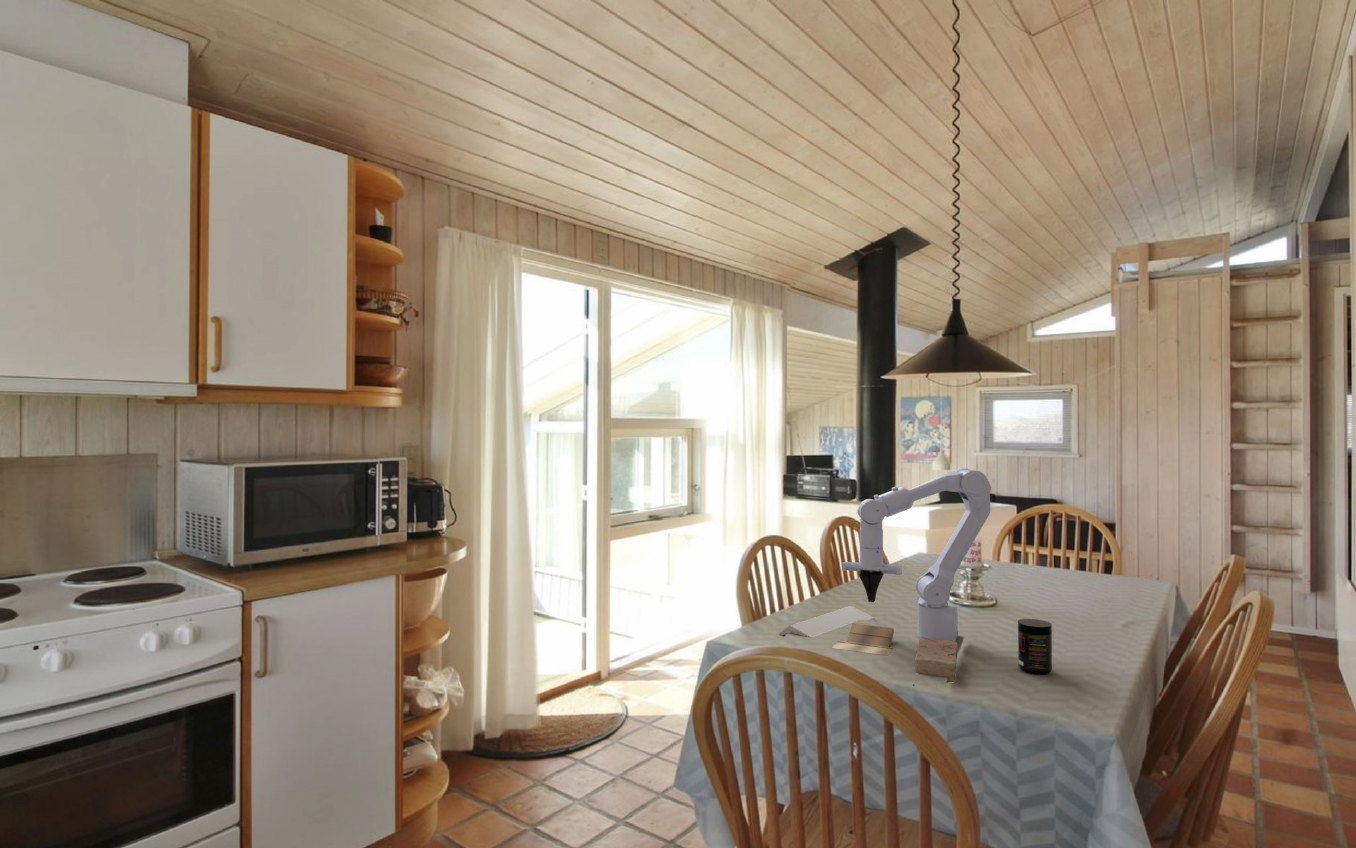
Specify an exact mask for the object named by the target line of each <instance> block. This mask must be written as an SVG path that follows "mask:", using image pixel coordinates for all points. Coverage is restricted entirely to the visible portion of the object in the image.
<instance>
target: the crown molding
mask: <svg viewBox="0 0 1356 848" xmlns="http://www.w3.org/2000/svg"><path fill="white" fill-rule="evenodd" d="M858 621H859V622H860V621H866V622H867V621H869V622H878V621H877V619H876V618H875V616H872V615H870V614H868V613H867V612H864V611H863V610H860V609H858V608H856V607H854V606H852V605H848V606H845V607H842V608H839V609H836V610H832V611H830V612H827V613H824V614H821V615H818V616H815V617H812V618H808V619H805V620H803V621H799V622H796V623H793V624H791V625H788V626H787V627H786V628H785V629H783V630H782V631H780V632H779V633H778V634H779V636H782V635H783V636H787V635H788V634H795V635H800V636H803V637H805V638H811V639H812V638H815V637H817V636H821V635H823V634H826V633H828V632H831V631H834V630H837V629H841V628H842V627H845V626H847V625H850V624H851V625H852V624H854V623H856V622H858Z"/></svg>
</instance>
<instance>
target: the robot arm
mask: <svg viewBox="0 0 1356 848" xmlns="http://www.w3.org/2000/svg"><path fill="white" fill-rule="evenodd" d="M991 490H992V486H991V484H990V481H989V479H988V478H987V476H986V475H985V473H983V472H982V471H980V470H975V469H974V470H972V469H969V468H961V469H958V470H957V471H950V472H947V473H944V474H941V475H939V476H937V477H935V478H932V479H930V480H928V481H926V482H923V483H921V484H919V485H916V486H914V487H912V488H909V489H908V488H905V487H903V486H901V487H898V486H894V487H891V490H890V491H887V492H885V493H882V494H880V495H878V494H874V495H873V497H874V499H873V498H872V499H871V498H867V499H864V500H862V501H861V503H860V504H859V506H858V508H857V514H858V516H859V518H860V519H859V561H854V562H853V561H843V562H841V571H842V572H843V571H844V572H845V571H851V572H859V574H858V575H859V578H860V581H861V582H862V584H863V588H864V590H865V592H866V597H867V602H868V603H874V602H875V601H876V597H877V592H878V589H879V587H880V586H879V585H880V583H881V582H882V579H883V577H884V574H887V575H896V576H901V575H902V573H903V570H902V569H903V567H902V566H900V565H894V564H893V565H892V564H887V563H884V530H883V520H884V519H885V517H886V518H889V517H892V516H893V515H896V514H897V515H898V514H899V513H901V512H905V511H908V510H909V509H911V508H912V506H913V504H914V502H917V501H919V500H921V499H922V500H923V499H925V498H927V497H930V496H933V495H935V494H936V495H937V494H939V493H943V492H945V491H946V492H954V493H958V494H959V496H960V497H961V500H962V502H963V504H964V507H965V511H964V513H963V514H962V516H961V518H960V520H959V522H958V523H957V525H956V526H955V528H954V530H953V532H952V534H951V535H950V537H949V539H948V541H947V542H946V544H945V545H944V548H942V551H941V553H939V556H938V558H937V559H936V561H935V563H934V564H932V565H931V566H930V567H929V568H928V569H927V570H926V572H925V573H924V574H922V575H921V576H920V577H919V578H918V579H917V580H916V583H915V588H916V589H915V590H916V592H917V593H918V595H919V596H920V597H919V599H917V636H919V637H920V638H921V639H926V640H927V639H931V640H935V639H936V640H948V641H954V642H957V638H958V637H959V629H958V628H959V627H958V623H959V622H958V620H959V619H958V607H956V606H951V605H949V601H950V597H951V589H952V587H953V586H954V580H955V574H956V572H957V571H958V569H959V567H960V566H961V564H962V563H963V560H964V558H965V557H966V555H967V553H968V552H969V550H970V548H971V547H972V545H973V543H974V542H975V540H976V538H977V536H978V535H979V533H980V531H981V529H982V528H983V526H984V525H985V523H986V521H987V519H988V518H989V516H990V513H991Z"/></svg>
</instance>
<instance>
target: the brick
mask: <svg viewBox="0 0 1356 848" xmlns="http://www.w3.org/2000/svg"><path fill="white" fill-rule="evenodd" d="M958 646H959V645H958V642H957V641H948V640H936V639H935V640H932V639H926V638H920V639H918V648H917V651H916V654H915V658H914V663H915V664H914V665H915V666H914V667H915V670H914V672H915V673H916V674H924V675H925V674H926V675H931V676H933V675H934V676H940V677H941V676H942V677H948V678H947V680H946V683H948V682H954V681H955V682H956V680H957V679H956V678H957V676H956V675H957V664H958V663H957V662H958V650H959V647H958ZM955 682H954V683H955Z"/></svg>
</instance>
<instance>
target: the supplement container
mask: <svg viewBox="0 0 1356 848" xmlns="http://www.w3.org/2000/svg"><path fill="white" fill-rule="evenodd" d="M1017 649H1018V650H1017V657H1018V658H1017V664H1018V668H1019V669H1020V670H1021V671H1022V672H1024V673H1027V674H1031V675H1036V676H1046V675H1049V674H1051V673H1052V671H1053V623H1051V622H1050V621H1046V620H1042V619H1038V618H1021V619H1018V620H1017Z"/></svg>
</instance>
